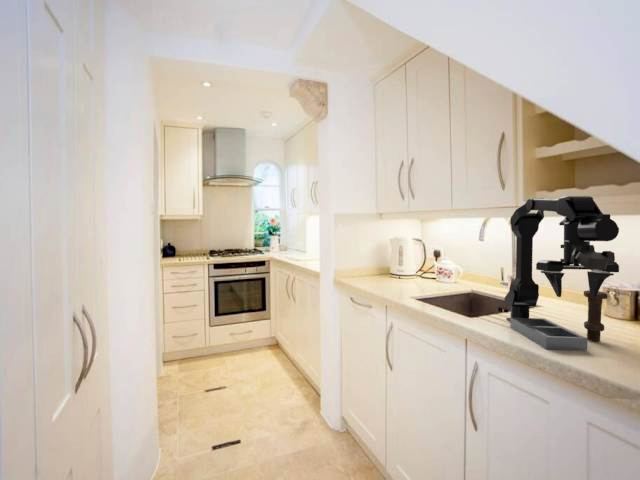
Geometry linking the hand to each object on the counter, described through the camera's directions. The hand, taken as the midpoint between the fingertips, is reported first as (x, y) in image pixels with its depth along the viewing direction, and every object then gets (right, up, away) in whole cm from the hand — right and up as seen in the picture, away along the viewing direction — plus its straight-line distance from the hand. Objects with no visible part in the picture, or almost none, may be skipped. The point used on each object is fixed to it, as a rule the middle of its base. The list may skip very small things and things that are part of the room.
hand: (576, 297), depth 91 cm
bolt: (+12, -15, +9) cm, 21 cm away
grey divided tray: (-1, -15, +11) cm, 18 cm away
